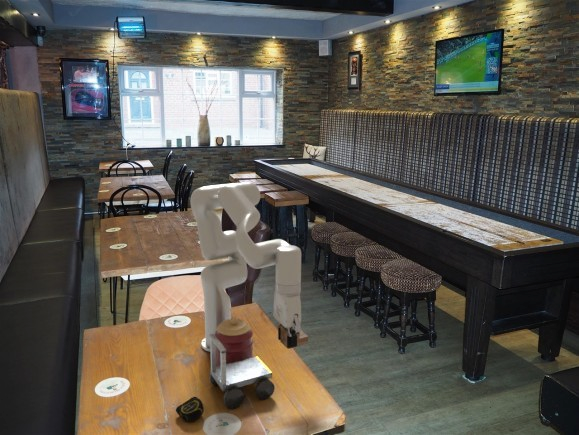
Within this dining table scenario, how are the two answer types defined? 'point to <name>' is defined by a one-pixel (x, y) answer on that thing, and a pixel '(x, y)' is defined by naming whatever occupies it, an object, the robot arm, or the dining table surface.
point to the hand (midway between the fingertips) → (287, 342)
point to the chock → (301, 337)
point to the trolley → (238, 376)
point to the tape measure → (190, 409)
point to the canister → (234, 340)
